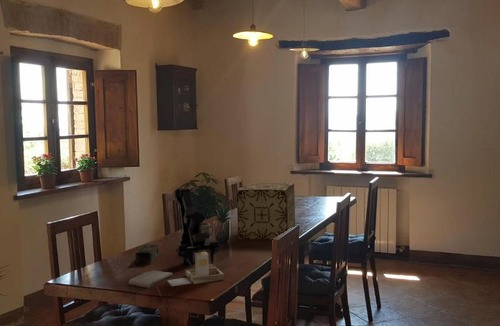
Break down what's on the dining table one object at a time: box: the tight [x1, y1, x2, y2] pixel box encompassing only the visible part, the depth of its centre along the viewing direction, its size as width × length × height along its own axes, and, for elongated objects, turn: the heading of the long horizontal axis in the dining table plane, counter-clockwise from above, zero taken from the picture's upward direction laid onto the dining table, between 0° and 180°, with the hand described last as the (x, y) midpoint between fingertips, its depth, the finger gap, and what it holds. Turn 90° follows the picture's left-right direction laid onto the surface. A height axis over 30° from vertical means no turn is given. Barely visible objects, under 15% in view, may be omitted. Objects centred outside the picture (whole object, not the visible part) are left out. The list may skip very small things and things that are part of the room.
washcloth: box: [128, 269, 173, 289], centre depth 231 cm, size 12×18×3 cm, turn 153°
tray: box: [185, 268, 225, 285], centre depth 231 cm, size 14×14×3 cm
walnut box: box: [209, 263, 218, 276], centre depth 235 cm, size 7×4×4 cm, turn 22°
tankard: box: [196, 222, 213, 252], centre depth 289 cm, size 20×13×15 cm, turn 32°
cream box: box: [194, 251, 210, 277], centre depth 227 cm, size 5×5×12 cm
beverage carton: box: [135, 243, 159, 265], centre depth 267 cm, size 8×19×7 cm, turn 178°
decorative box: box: [236, 182, 296, 241], centre depth 317 cm, size 30×30×30 cm
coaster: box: [167, 277, 192, 287], centre depth 226 cm, size 9×9×1 cm
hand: (202, 265), depth 227 cm, fingers open, 9 cm apart
